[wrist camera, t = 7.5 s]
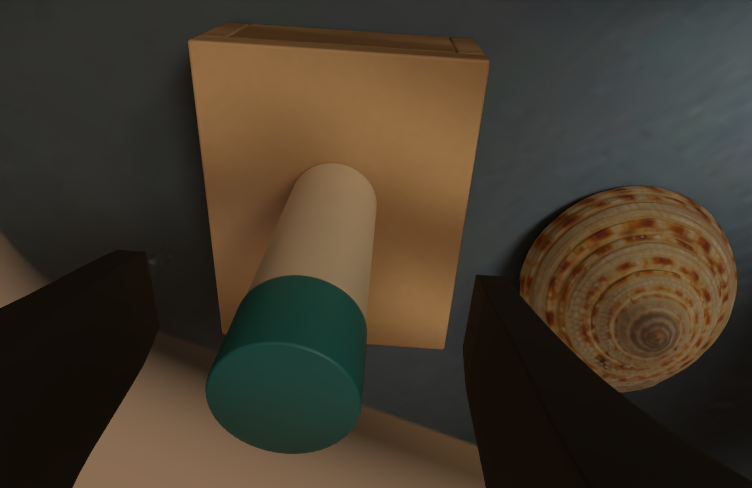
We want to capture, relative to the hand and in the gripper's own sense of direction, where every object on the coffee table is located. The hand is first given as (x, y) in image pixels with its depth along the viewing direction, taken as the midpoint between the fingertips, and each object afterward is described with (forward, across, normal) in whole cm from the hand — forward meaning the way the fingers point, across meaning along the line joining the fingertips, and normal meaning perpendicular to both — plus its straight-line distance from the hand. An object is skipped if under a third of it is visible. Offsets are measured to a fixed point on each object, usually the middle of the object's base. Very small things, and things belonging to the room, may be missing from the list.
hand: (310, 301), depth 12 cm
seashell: (+9, -11, +5) cm, 15 cm away
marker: (+5, 0, 0) cm, 5 cm away
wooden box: (+9, 0, +1) cm, 9 cm away
